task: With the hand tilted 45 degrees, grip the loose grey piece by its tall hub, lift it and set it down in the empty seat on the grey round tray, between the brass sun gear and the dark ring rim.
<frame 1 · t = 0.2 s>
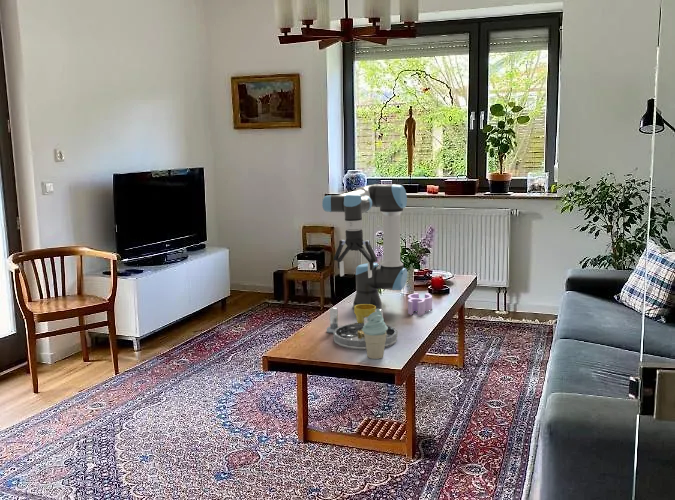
hand: (356, 276, 297), 28 cm above the table, tool pointing down, fingers open, 13 cm apart
clip: (418, 310, 344), on the table
grey round tray: (365, 339, 297), on the table
grey piece: (334, 331, 311), on the table
plant pot: (365, 326, 317), on the table
ice cream cone: (375, 357, 275), on the table
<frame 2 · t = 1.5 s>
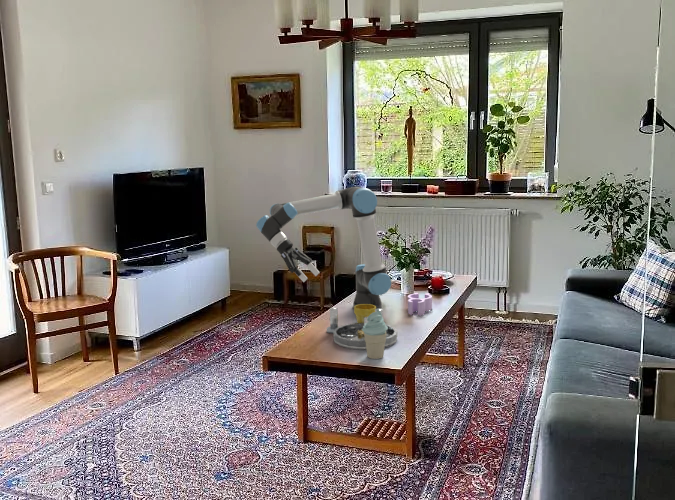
hand: (311, 277, 310), 25 cm above the table, tool tilted 45°, fingers open, 13 cm apart
nothing on the table moved.
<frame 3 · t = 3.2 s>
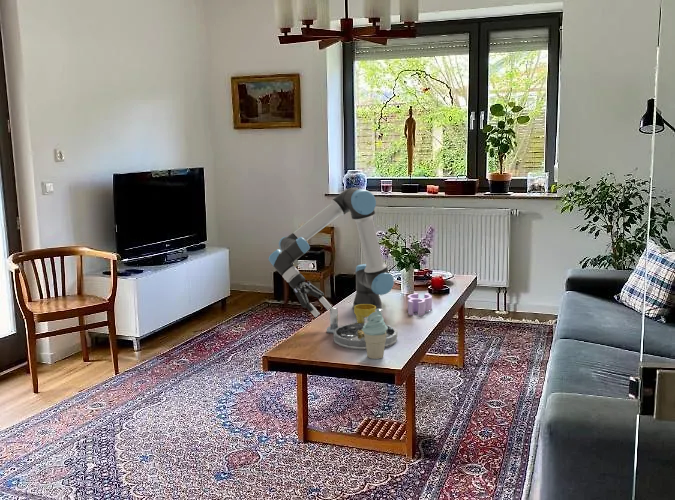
hand: (324, 312, 310), 9 cm above the table, tool tilted 45°, fingers open, 13 cm apart
nothing on the table moved.
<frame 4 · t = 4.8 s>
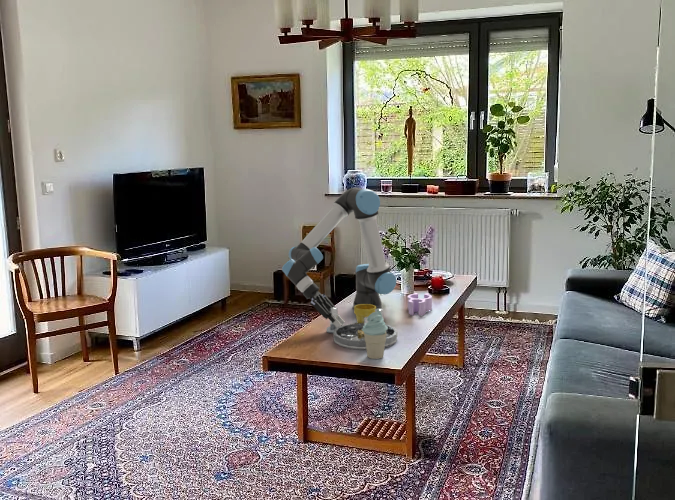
hand: (341, 325, 308), 3 cm above the table, tool tilted 45°, fingers closed on grey piece, 4 cm apart
grey piece: (334, 331, 310), on the table, touching gripper
everything else where it was.
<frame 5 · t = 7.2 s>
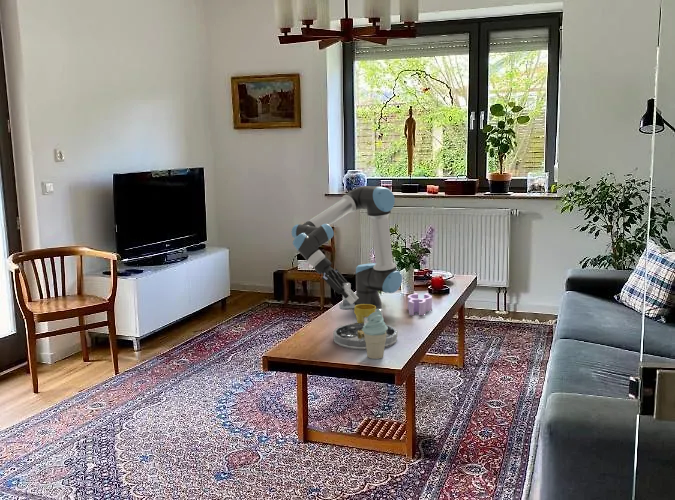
hand: (354, 301, 296), 17 cm above the table, tool tilted 45°, fingers closed on grey piece, 4 cm apart
grey piece: (347, 307, 298), point 14 cm above the table, touching gripper
everything else where it was.
when the fingers open (6 cm above the table, at t = 9.5 s): grey piece drops 1 cm, resting on grey round tray.
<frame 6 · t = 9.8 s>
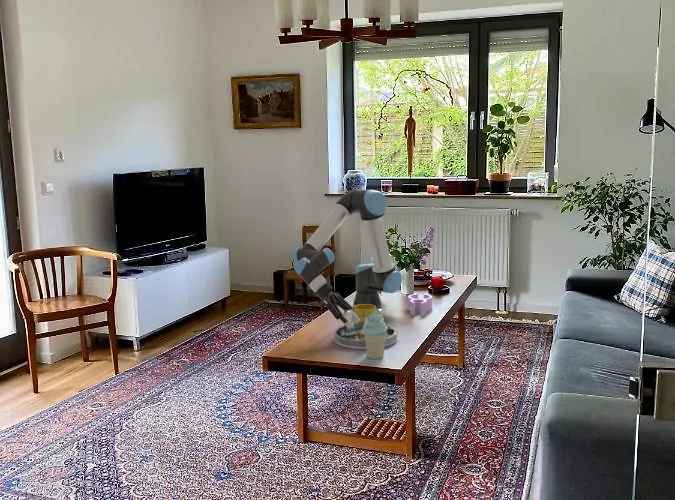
hand: (355, 324, 298), 6 cm above the table, tool tilted 45°, fingers open, 8 cm apart
grey piece: (348, 334, 300), point 1 cm above the table, touching grey round tray
everything else where it was.
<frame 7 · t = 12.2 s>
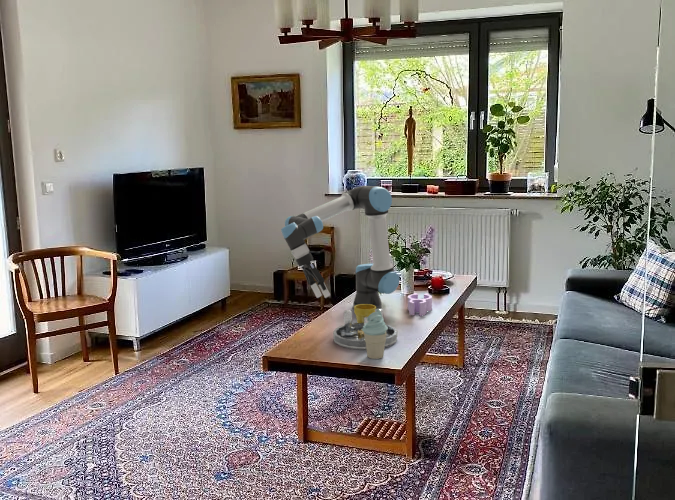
hand: (323, 296, 306), 17 cm above the table, tool tilted 25°, fingers open, 13 cm apart
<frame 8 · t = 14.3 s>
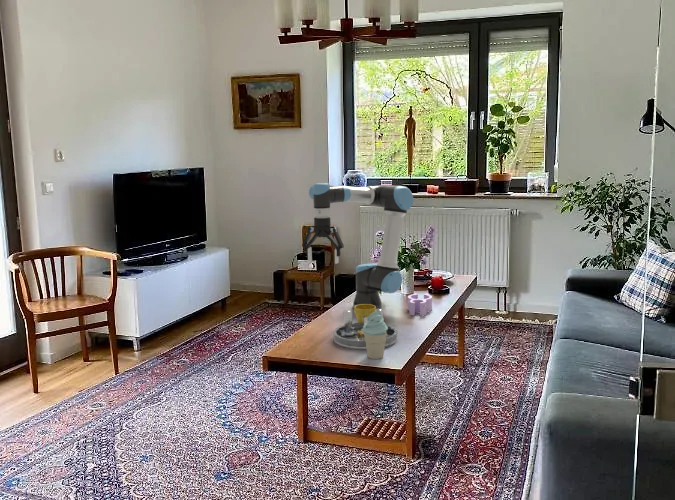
hand: (323, 262, 310), 32 cm above the table, tool pointing down, fingers open, 13 cm apart
at the end: grey piece 0.1 cm from the target spot on the grey round tray, point 1.3 cm above the grey round tray's base; grey piece tilted 0°; the gripper is holding nothing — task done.
